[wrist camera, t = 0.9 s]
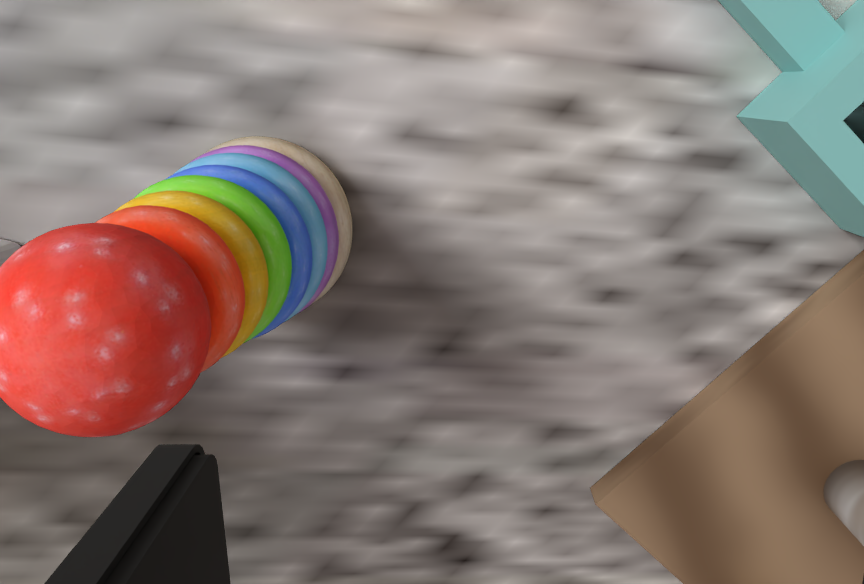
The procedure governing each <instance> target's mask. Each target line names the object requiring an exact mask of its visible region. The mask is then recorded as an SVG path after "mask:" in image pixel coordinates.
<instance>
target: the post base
mask: <svg viewBox="0 0 864 584" xmlns="http://www.w3.org/2000/svg"><path fill="white" fill-rule="evenodd" d="M590 489H591V492H592V495H593V498H594V501H595V504H596V505H597V506H598V507H599V508H600V509H601V510H602V511H603V512H604V513H606V514H607V515H608V516H609V517H610V518H611V519H612V520H613V521H614V522H616V523H617V524H618V525H619V526H620V527H621V528H622V529H623V530H624V531H626V532H627V533H628V534H629V535H630V536H631V537H632V538H633V539H634V540H636V541H637V542H638V543H639V544H640V545H641V546H642V547H643V548H644V549H645V550H647V551H648V552H649V553H650V554H651V555H652V556H653V557H654V558H655V559H657V560H658V561H659V562H660V563H661V564H662V565H663V566H664V567H665V568H667V569H668V570H669V571H670V572H671V573H672V574H673V575H674V576H675V577H677V578H678V579H679V580H680V581H681V582H682V583H683V584H862V582H863V576H864V250H863V251H862V252H861V253H859V254H858V255H857V256H856V257H855V258H854V259H853V260H851V261H850V262H849V263H848V264H847V265H846V266H845V267H843V268H842V269H841V270H840V271H839V272H838V273H836V274H835V275H834V276H833V277H832V278H831V279H830V280H828V281H827V282H826V283H825V284H824V285H823V286H822V287H820V288H819V289H818V290H817V291H816V292H815V293H814V294H812V295H811V296H810V297H809V298H808V299H807V300H805V301H804V302H803V303H802V304H801V305H800V306H799V307H797V308H796V309H795V310H794V311H793V312H792V313H791V314H789V315H788V316H787V317H786V318H785V319H784V320H783V321H781V322H780V323H779V324H778V325H777V326H776V327H774V328H773V329H772V330H771V331H770V332H769V333H768V334H766V335H765V336H764V337H763V338H762V339H761V340H760V341H758V342H757V343H756V344H755V345H754V346H753V347H752V348H750V349H749V350H748V351H747V352H746V353H745V354H743V355H742V356H741V357H740V358H739V359H738V360H737V361H735V362H734V363H733V364H732V365H731V366H730V367H729V368H727V369H726V370H725V371H724V372H723V373H722V374H720V375H719V376H718V377H717V378H716V379H715V380H714V381H712V382H711V383H710V384H709V385H708V386H707V387H706V388H704V389H703V390H702V391H701V392H700V393H699V394H698V395H696V396H695V397H694V398H693V399H692V400H691V401H689V402H688V403H687V404H686V405H685V406H684V407H683V408H681V409H680V410H679V411H678V412H677V413H676V414H675V415H673V416H672V417H671V418H670V419H669V420H668V421H667V422H665V423H664V424H663V425H662V426H661V427H660V428H658V429H657V430H656V431H655V432H654V433H653V434H652V435H650V436H649V437H648V438H647V439H646V440H645V441H644V442H642V443H641V444H640V445H639V446H638V447H637V448H635V449H634V450H633V451H632V452H631V453H630V454H629V455H627V456H626V457H625V458H624V459H623V460H622V461H621V462H619V463H618V464H617V465H616V466H615V467H614V468H613V469H611V470H610V471H609V472H608V473H607V474H606V475H604V476H603V477H602V478H601V479H600V480H599V481H598V482H596V483H595V484H594V485H593V486H592V487H591V488H590Z"/></svg>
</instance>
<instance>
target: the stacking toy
mask: <svg viewBox="0 0 864 584" xmlns="http://www.w3.org/2000/svg"><path fill="white" fill-rule="evenodd" d="M351 244H352V217H351V212H350V207H349V204H348V201H347V198H346V195H345V193H344V191H343V189H342V187H341V185H340V183H339V182H338V180H337V178H336V177H335V176H334V174H333V173H332V171H331V170H330V169H329V168H328V167H327V166H326V165H325V164H324V163H323V162H322V161H321V160H320V159H318V158H317V157H316V156H315V155H313V154H312V153H310V152H309V151H307V150H305V149H304V148H302V147H300V146H298V145H296V144H293V143H291V142H288V141H285V140H282V139H277V138H271V137H260V136H252V137H243V138H238V139H234V140H230V141H228V142H225V143H222V144H220V145H218V146H216V147H214V148H212V149H210V150H208V151H207V152H206V153H205V154H203V155H201V156H199V157H198V158H196V159H194V160H193V161H191V162H190V163H189V164H187V165H185V166H184V167H182V168H181V169H179V170H178V171H177V172H176V173H174V174H173V175H172V176H170V177H168V178H167V179H165V180H163V181H161V182H158V183H156V184H154V185H151V186H150V187H148V188H146V189H145V190H143V191H142V192H141V193H139V194H138V195H137V196H136V197H135V198H134V199H133V200H131V201H129V202H127V203H125V204H124V205H122V206H121V207H119V208H118V209H117V210H116V211H114V212H113V213H111V214H109V215H107V216H105V217H103V218H102V219H100V220H98V221H97V222H95V223H88V224H78V225H72V226H66V227H62V228H59V229H55V230H52V231H50V232H47V233H45V234H43V235H41V236H39V237H36V238H35V239H33V240H31V241H29V242H28V243H26V244H25V245H24V246H22V247H21V248H19V249H18V250H17V251H15V252H14V253H13V254H12V255H11V256H10V257H9V258H8V259H7V260H6V261H5V262H4V263H3V264H2V265H1V267H0V397H1V398H2V400H3V401H4V402H5V403H6V404H7V405H8V406H9V407H11V408H12V409H13V410H14V411H15V412H17V413H18V414H19V415H21V416H22V417H23V418H25V419H27V420H29V421H30V422H32V423H34V424H36V425H38V426H40V427H43V428H45V429H48V430H51V431H54V432H57V433H60V434H66V435H71V436H79V437H104V436H112V435H118V434H122V433H125V432H128V431H132V430H135V429H137V428H140V427H142V426H144V425H146V424H148V423H151V422H153V421H154V420H156V419H158V418H159V417H161V416H162V415H164V414H165V413H167V412H168V411H169V410H171V409H172V408H173V407H174V406H175V405H176V404H177V403H178V402H179V401H180V400H181V399H182V398H183V397H184V396H185V395H186V394H187V393H188V391H189V390H190V389H191V388H192V386H193V384H194V383H195V381H196V379H197V378H198V376H199V374H200V372H202V371H204V370H206V369H208V368H209V367H210V366H212V365H213V364H215V363H216V362H217V361H218V360H219V359H220V358H222V357H224V356H226V355H228V354H229V353H231V352H233V351H234V350H236V349H237V348H238V347H239V346H240V345H241V344H243V343H245V342H247V341H248V340H250V339H253V338H256V337H259V336H261V335H263V334H266V333H268V332H269V331H271V330H273V329H275V328H276V327H277V326H279V325H280V324H282V323H283V322H285V321H287V320H289V319H290V318H292V317H293V316H294V315H296V314H298V313H300V312H301V311H303V310H304V309H305V308H307V307H308V306H310V305H311V304H313V303H314V302H316V301H317V300H319V299H320V298H321V297H322V296H323V295H325V294H326V293H327V292H328V291H329V290H330V289H331V287H332V286H333V285H334V284H335V283H336V281H337V280H338V278H339V277H340V275H341V274H342V272H343V270H344V267H345V265H346V263H347V260H348V257H349V254H350V250H351Z"/></svg>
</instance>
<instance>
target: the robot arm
mask: <svg viewBox="0 0 864 584" xmlns="http://www.w3.org/2000/svg"><path fill="white" fill-rule="evenodd" d="M45 584H230V575H229V566H228V557H227V548H226V539H225V530H224V520H223V511H222V502H221V493H220V484H219V475H218V466H217V460H216V458H215V456H214V455H205V453H204V450H203V448H202V447H201V446H200V445H158V446H157V447H156V448H155V449H154V450H153V451H152V453H151V454H150V455H149V456H148V458H147V459H146V460H145V461H144V463H143V464H142V465H141V466H140V467H139V469H138V470H137V471H136V472H135V474H134V475H133V476H132V477H131V478H130V480H129V481H128V482H127V483H126V485H125V486H124V487H123V488H122V490H121V491H120V492H119V493H118V494H117V496H116V497H115V498H114V499H113V501H112V502H111V503H110V504H109V506H108V507H107V508H106V509H105V510H104V512H103V513H102V514H101V515H100V517H99V518H98V519H97V520H96V522H95V523H94V524H93V525H92V526H91V528H90V529H89V530H88V531H87V533H86V534H85V535H84V536H83V537H82V539H81V540H80V541H79V542H78V544H77V545H76V546H75V547H74V548H73V549H72V551H71V552H70V553H69V554H68V555H67V557H66V558H65V559H64V560H63V562H62V563H61V564H60V565H59V566H58V568H57V569H56V570H55V571H54V573H53V574H52V575H51V576H50V578H49V579H48V580H47V581H46V582H45ZM862 584H864V576H863V582H862Z"/></svg>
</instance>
